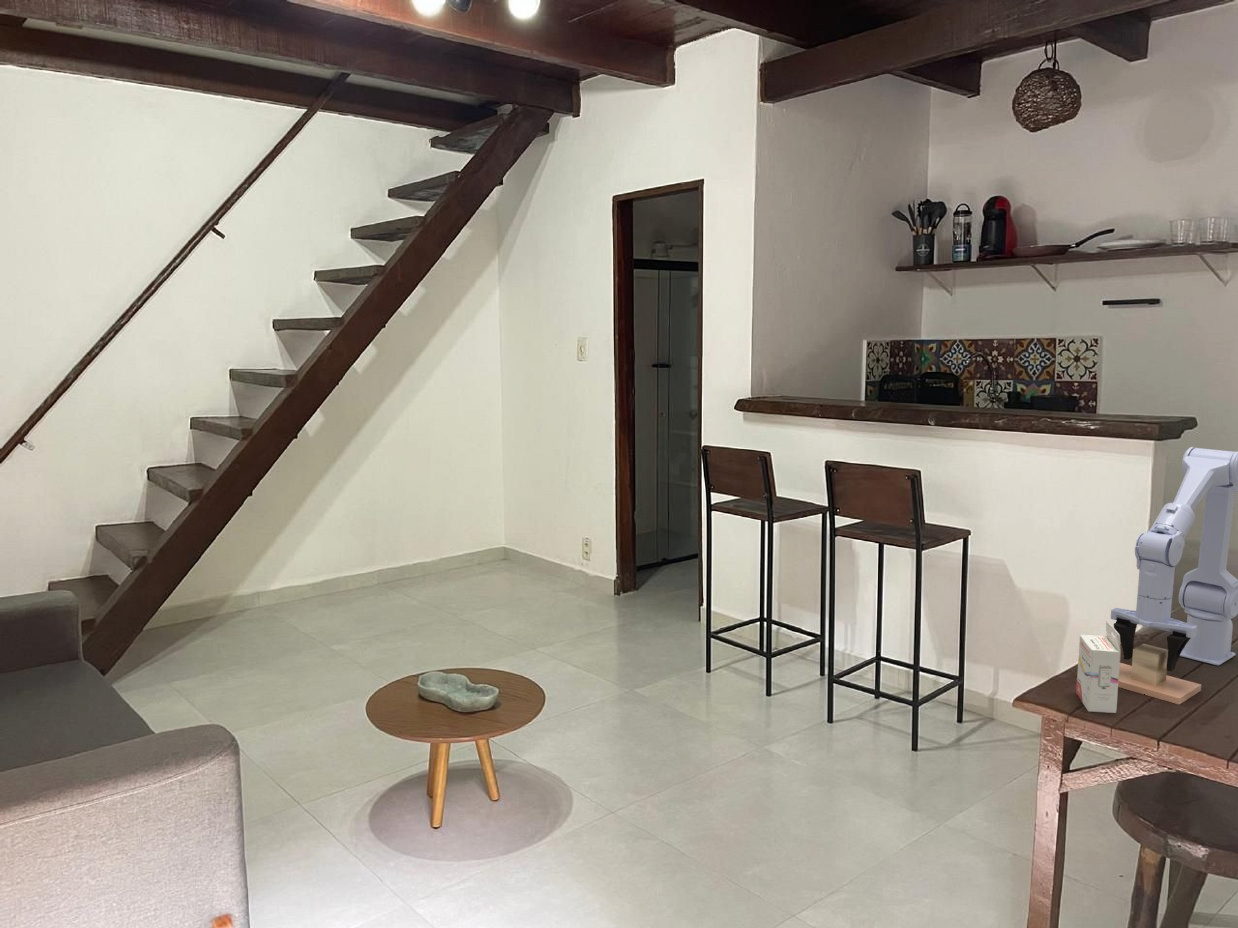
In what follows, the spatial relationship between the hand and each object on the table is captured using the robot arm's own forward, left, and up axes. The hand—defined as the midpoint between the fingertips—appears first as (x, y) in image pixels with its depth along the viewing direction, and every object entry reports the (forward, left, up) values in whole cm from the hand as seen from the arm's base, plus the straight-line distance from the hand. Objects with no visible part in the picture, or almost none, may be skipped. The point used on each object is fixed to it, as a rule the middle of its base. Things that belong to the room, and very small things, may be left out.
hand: (1149, 663), depth 177 cm
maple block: (0, 0, -3) cm, 3 cm away
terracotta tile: (0, 0, -4) cm, 4 cm away
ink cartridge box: (+16, -3, -5) cm, 17 cm away
